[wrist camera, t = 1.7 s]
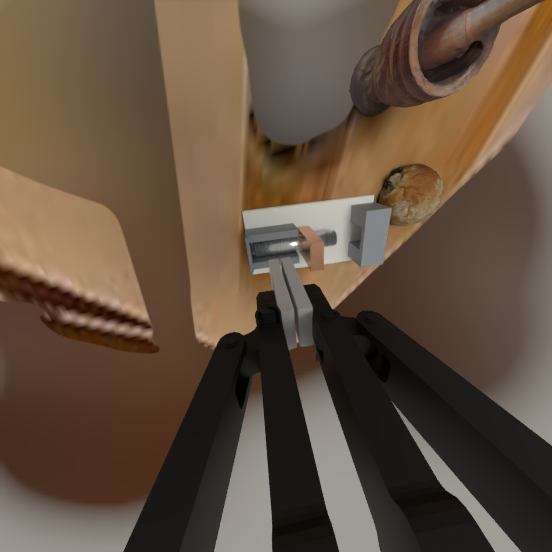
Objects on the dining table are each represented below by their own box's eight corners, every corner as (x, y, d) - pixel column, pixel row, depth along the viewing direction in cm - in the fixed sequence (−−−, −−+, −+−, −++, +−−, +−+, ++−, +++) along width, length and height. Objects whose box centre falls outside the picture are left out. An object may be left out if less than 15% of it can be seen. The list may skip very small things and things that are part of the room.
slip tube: (251, 233, 37) (252, 251, 29) (330, 222, 37) (352, 237, 30) (255, 256, 39) (257, 279, 31) (330, 245, 39) (349, 265, 32)
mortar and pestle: (405, -4, 26) (733, -355, 8) (434, 63, 29) (710, -86, 12) (335, 83, 29) (466, -38, 12) (368, 134, 32) (509, 101, 15)
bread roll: (368, 218, 43) (391, 244, 38) (372, 173, 35) (402, 199, 30) (415, 198, 42) (445, 222, 37) (430, 146, 34) (471, 169, 29)
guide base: (242, 210, 36) (241, 219, 30) (371, 194, 37) (393, 199, 31) (253, 272, 41) (253, 289, 36) (364, 256, 43) (381, 269, 37)
